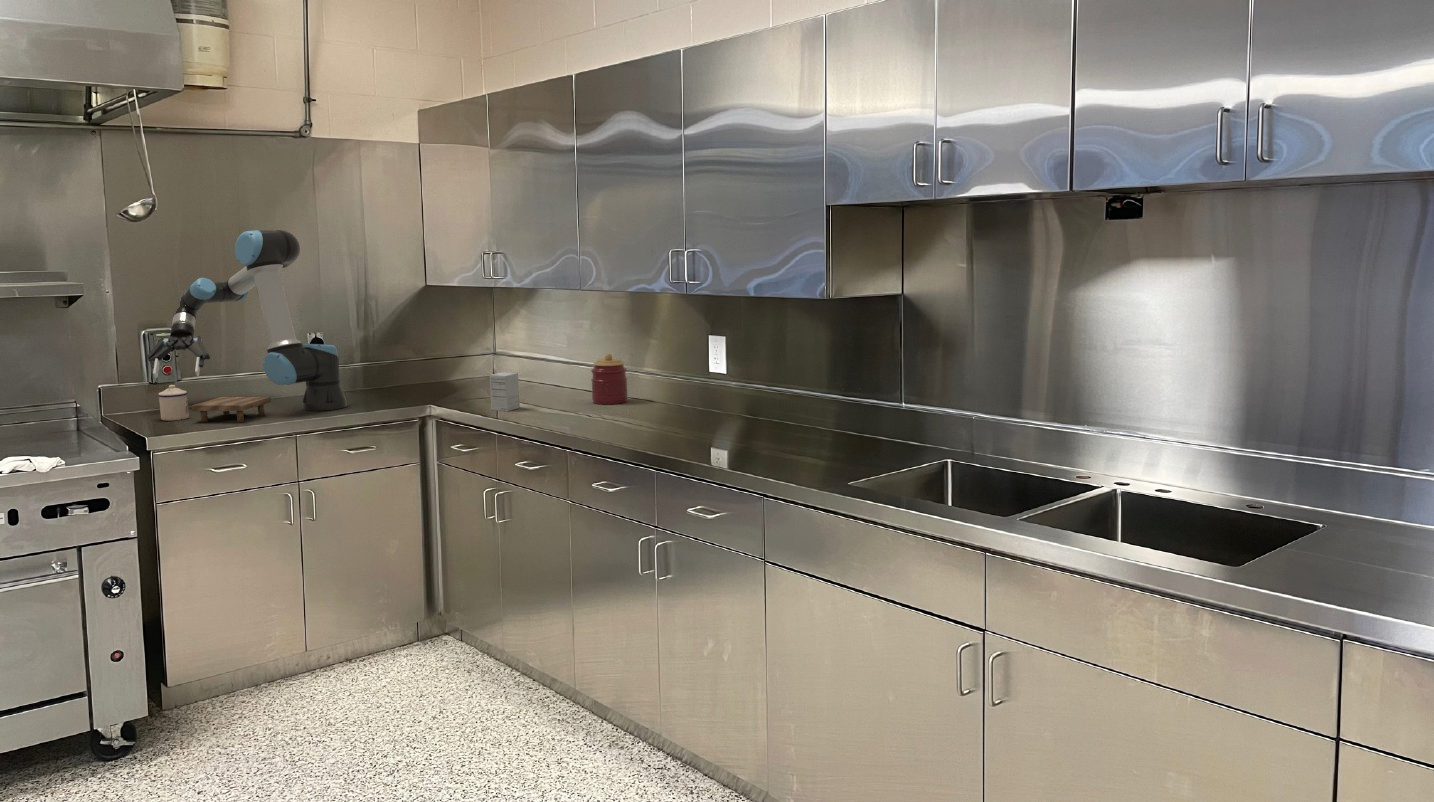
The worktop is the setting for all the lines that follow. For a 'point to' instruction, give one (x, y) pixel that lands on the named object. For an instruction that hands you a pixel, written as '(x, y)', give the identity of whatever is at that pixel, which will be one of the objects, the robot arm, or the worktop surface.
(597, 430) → the worktop surface
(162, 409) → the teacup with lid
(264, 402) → the brown wooden stand
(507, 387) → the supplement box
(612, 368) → the canister
